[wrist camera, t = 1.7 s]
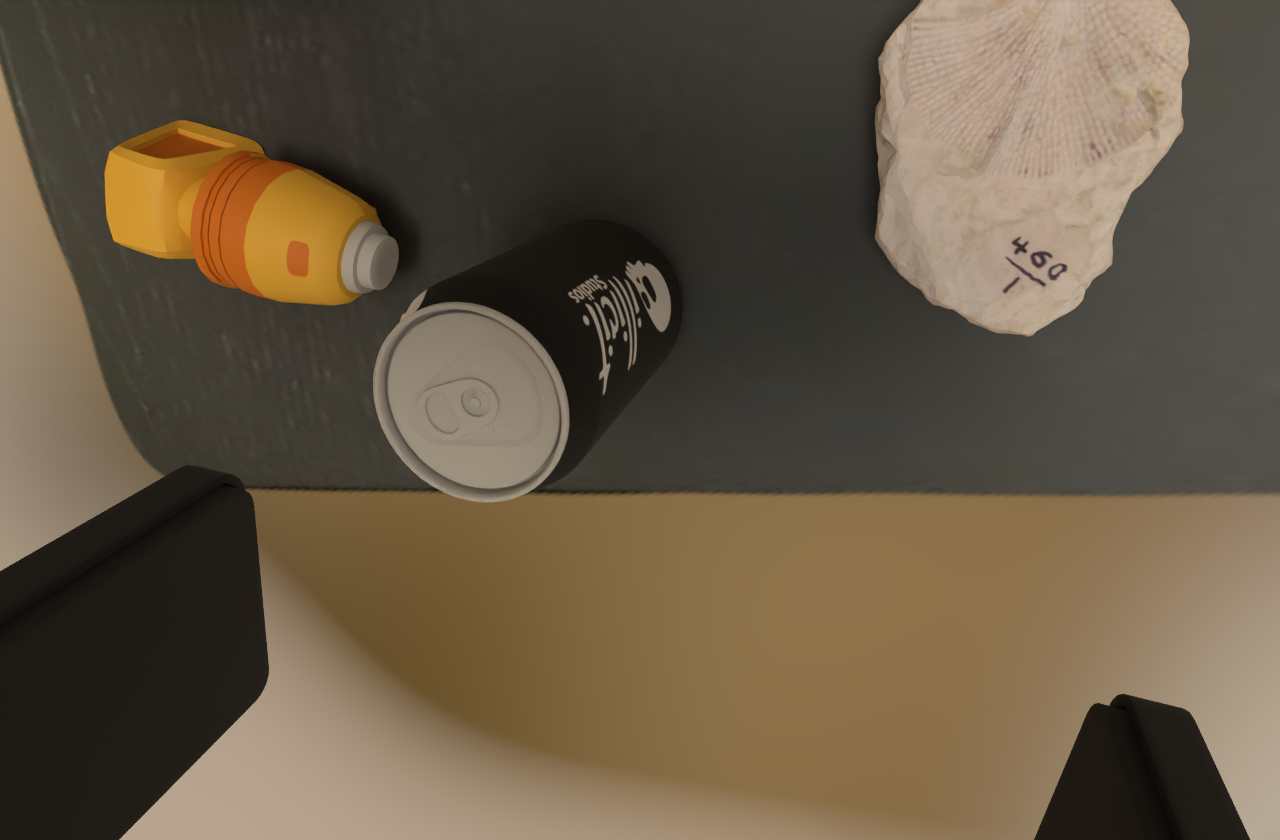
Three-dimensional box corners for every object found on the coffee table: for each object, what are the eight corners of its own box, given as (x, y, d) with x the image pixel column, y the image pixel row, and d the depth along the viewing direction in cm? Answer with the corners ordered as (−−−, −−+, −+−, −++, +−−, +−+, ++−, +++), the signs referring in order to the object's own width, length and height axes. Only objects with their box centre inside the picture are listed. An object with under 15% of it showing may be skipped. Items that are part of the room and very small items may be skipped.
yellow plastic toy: (430, 185, 34) (170, 110, 36) (352, 204, 29) (56, 117, 31) (415, 311, 36) (172, 235, 38) (341, 350, 31) (66, 260, 33)
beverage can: (710, 352, 33) (620, 484, 23) (567, 399, 36) (424, 539, 25) (646, 190, 32) (516, 250, 21) (500, 252, 34) (318, 334, 24)
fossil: (1243, -55, 22) (1194, 329, 22) (1137, 55, 29) (1099, 352, 29) (896, -66, 24) (851, 296, 24) (869, 41, 30) (834, 324, 30)
